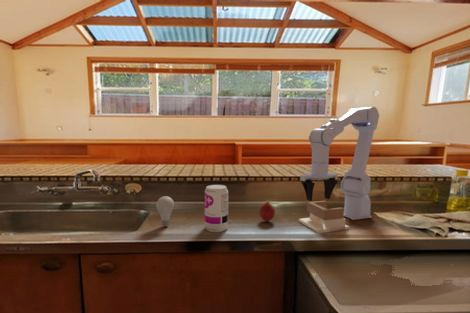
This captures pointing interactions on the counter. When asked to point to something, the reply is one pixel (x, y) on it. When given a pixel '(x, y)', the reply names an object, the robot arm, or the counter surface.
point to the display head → (324, 224)
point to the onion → (267, 211)
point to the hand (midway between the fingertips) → (318, 199)
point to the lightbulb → (165, 209)
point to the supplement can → (216, 208)
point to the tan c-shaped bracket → (324, 210)
